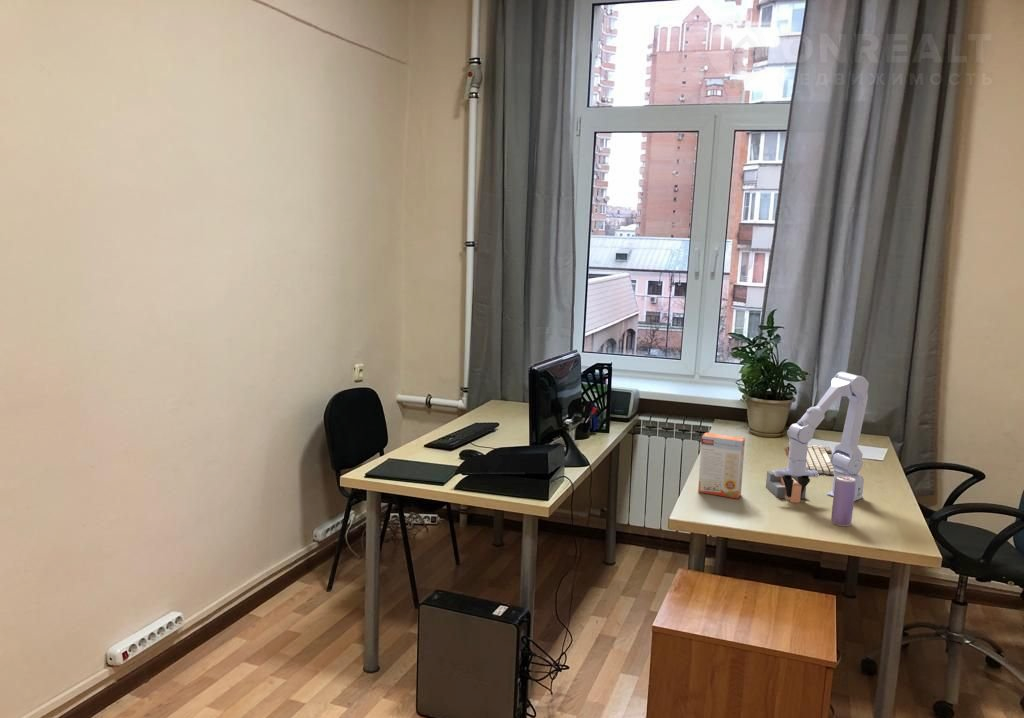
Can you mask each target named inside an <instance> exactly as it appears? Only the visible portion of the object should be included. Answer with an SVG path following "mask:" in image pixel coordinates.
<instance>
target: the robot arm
mask: <svg viewBox="0 0 1024 718" xmlns="http://www.w3.org/2000/svg"><path fill="white" fill-rule="evenodd" d="M830 382H831V383H830V384H831V385H830V387H829V388H828V389H827V390H826V392H825V393H824V395H823V396H822V397H821V399H820V400H819V401H818V402H817V404H816V406H810V407H809V408H807V409H806V412H805V413H804V414H803V415H802V416H801V418H800V419H798V421H797V422H796V423H792V424H791V425H790V426H789V427H788V430H786V434H787V437H788V438H789V440H788V443H789V442H790V449H789V458H788V460H787V461H788V462H787V468H782V469H781V468H780V469H774V470H773V471H774V475H775V476H776V477H779V476H782V478H783V481H784V483H785V487H786V492H787V496H788V497H791V493H792V485H793V482H794V480H793V479H792V477H791V476H798V483H799V484H800V485H801V486H802V487H801V496H802V494H803V491H804V489H805V487H806V488H807V485H808V484H809V483H810V481H811V479H810V478H811V477H812V478H819V475H818V472H817V471H816V470H805V469H806V459H807V448H808V445H809V442H810V441H811V440H813V437H814V433H815V430H816V429H817V428H818V426H819V425H820V424H821V423H822V421H824V419H825V417H826V416H825V413H826V412H827V411H828V410H829V409H830V408H831V407H832V406H833V404H835V402H837V400H838V399H840V398H841V397H847V398H848V400H849V402H848V407H847V411H846V416H845V421H844V425H843V426H844V427H843V430H842V436H841V440H840V443H838V444H837V445H835V446H834V450H833V452H832V455H831V457H830V462H831V464H832V465H833V469H834V476H833V477H832V485H831V486H832V487H831V491H829V492H827V493H826V495H828V496H832V497H833V496H834V487H835V479H836V476H840V475H843V476H850V477H853V478H854V479H855V482H856V485H855V494H854V502H855V501H858V500H860V499H862V498H864V496H863V493H864V492H863V491H864V483H865V482H864V480H865V479H864V477H863V475H860V474H859V473H860V472H861V470H862V468H863V453H862V451H861V450H860V448H859V441H860V437H861V432H862V428H863V427H862V426H863V423H864V419H865V414H866V409H867V404H868V399H869V394H868V390H869V385H870V383H869V381H868V380H867V379H866V377H864V376H862V375H857V374H853V373H849V372H847V371H839V372H837V373H836V374H835V376H834V377H833V378H832V379H831V381H830Z"/></svg>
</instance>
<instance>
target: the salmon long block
mask: <svg viewBox="0 0 1024 718" xmlns="http://www.w3.org/2000/svg"><path fill="white" fill-rule="evenodd" d="M792 479H793V478H792ZM793 480H794V479H793ZM780 484H781V485H782V486H785V483H784V481H783V478H782V476H781V482H780ZM801 487H802V486H801V485H800V484H799V483H798V482H797V481H796V480H794V482H793V485H792V493H791V497H788V496H787V492H786V487H785V496H784V498H786V500H788V501H790V503H801V498H800V497H801Z"/></svg>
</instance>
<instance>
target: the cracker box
mask: <svg viewBox="0 0 1024 718" xmlns="http://www.w3.org/2000/svg"><path fill="white" fill-rule="evenodd" d="M745 441H746V437H743V436H742V437H741V436H736V435H735V436H733V435H728V434H726V435H725V434H719V433H713V432H705V433H703V435H701V442H700V443H701V445H700V458H699V473H698V489H697V492H698V493H700V494H701V493H702V494H708V495H713V496H714V495H715V496H721V497H726V498H731V499H739V497H740V496H741V495H742V485H743V471H744V459H745V458H744V457H745V445H746V444H745V443H746V442H745Z"/></svg>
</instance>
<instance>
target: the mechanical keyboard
mask: <svg viewBox="0 0 1024 718" xmlns="http://www.w3.org/2000/svg"><path fill="white" fill-rule="evenodd" d="M787 444H788V445H787V446H785V447H783V449H784V453H785V455H786V457H787V458H788V459H789V449H790V442H789V441H788V443H787ZM832 453H833V452H832V449H831V447H830V446H829V445H826V446H824V445H819V446H818V445H817V444H815V445H814V444H812V445H811V444H808V448H807V459H806V469H805V470H816V471H817V472H818V474H820V475H819V476H823V475H822V474H825V476H832V475H834V469H833V465H832V464H831V462H830V458H829V456H828V454H832Z"/></svg>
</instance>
